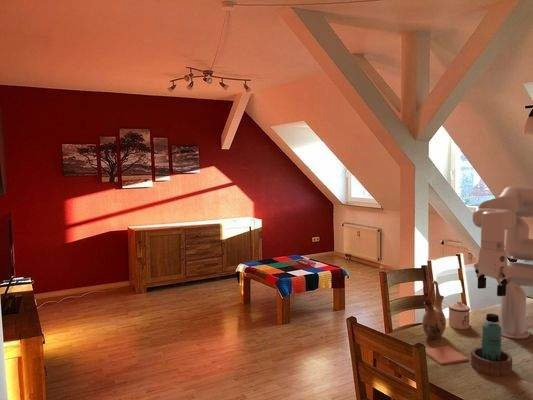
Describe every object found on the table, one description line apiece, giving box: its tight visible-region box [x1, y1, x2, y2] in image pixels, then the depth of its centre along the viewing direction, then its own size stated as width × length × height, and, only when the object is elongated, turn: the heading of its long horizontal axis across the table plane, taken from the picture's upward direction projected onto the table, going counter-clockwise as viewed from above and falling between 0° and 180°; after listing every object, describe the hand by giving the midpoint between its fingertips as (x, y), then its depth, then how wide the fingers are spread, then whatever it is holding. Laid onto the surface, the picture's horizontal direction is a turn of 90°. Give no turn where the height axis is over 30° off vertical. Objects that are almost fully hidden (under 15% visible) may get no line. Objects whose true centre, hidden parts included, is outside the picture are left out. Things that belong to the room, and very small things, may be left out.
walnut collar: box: [470, 346, 513, 378], centre depth 158 cm, size 13×13×5 cm
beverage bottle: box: [480, 313, 502, 362], centre depth 158 cm, size 6×7×20 cm
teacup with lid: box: [448, 300, 471, 330], centre depth 200 cm, size 12×9×12 cm
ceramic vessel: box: [421, 280, 447, 340], centre depth 186 cm, size 16×9×25 cm, turn 138°
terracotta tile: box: [425, 345, 469, 366], centre depth 169 cm, size 12×12×1 cm
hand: (491, 291), depth 156 cm, fingers open, 9 cm apart
